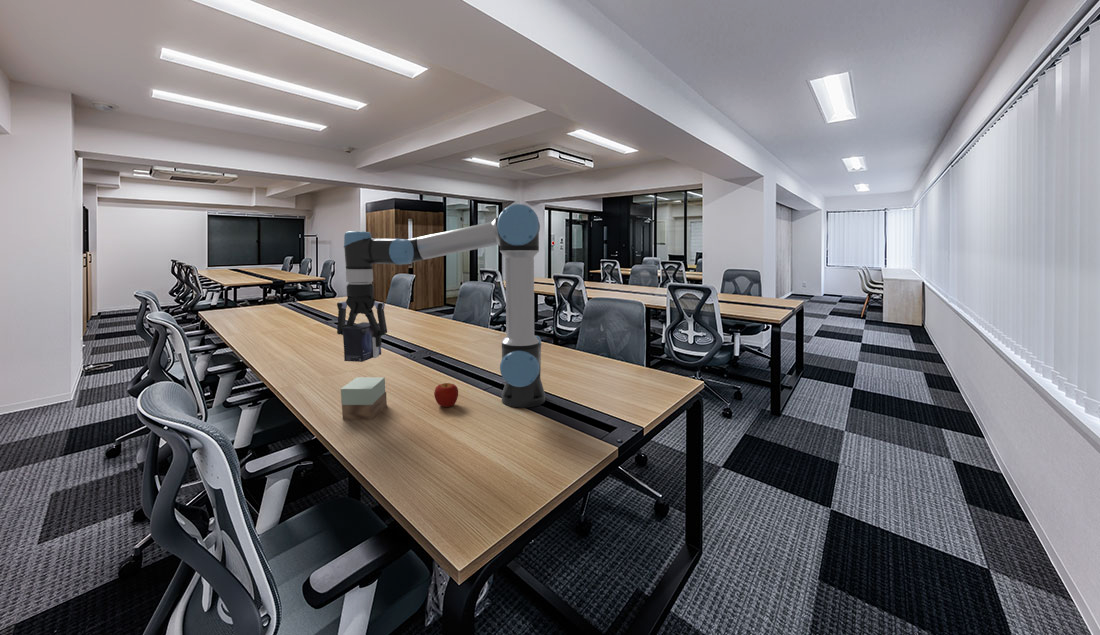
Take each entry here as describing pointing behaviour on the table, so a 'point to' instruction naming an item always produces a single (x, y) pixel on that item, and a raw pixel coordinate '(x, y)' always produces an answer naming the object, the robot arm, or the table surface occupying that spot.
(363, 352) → the small box
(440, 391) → the apple
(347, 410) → the tower base
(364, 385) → the tower top
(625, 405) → the table surface
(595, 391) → the table surface
